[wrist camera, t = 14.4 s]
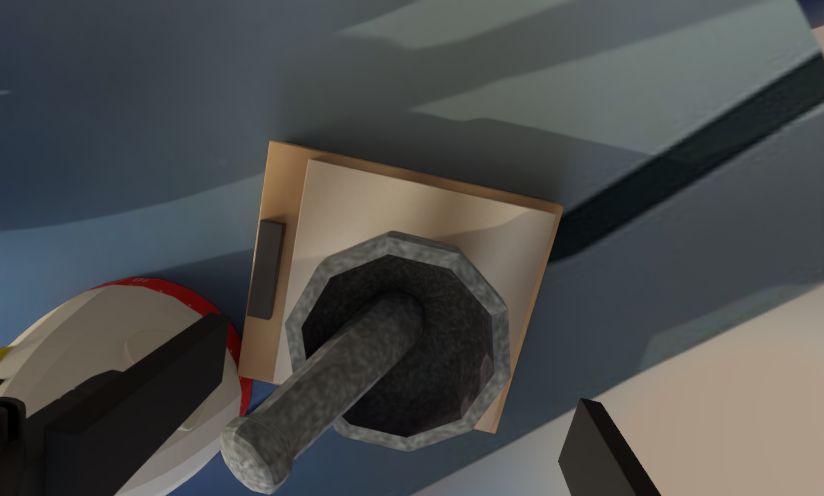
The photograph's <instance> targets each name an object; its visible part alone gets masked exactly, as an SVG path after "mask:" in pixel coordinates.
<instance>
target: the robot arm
mask: <svg viewBox="0 0 824 496" xmlns="http://www.w3.org/2000/svg"><path fill="white" fill-rule="evenodd" d="M229 323H230V316H226V315H222V314H217V313H213V312H209V313H208V314H206V315H205V316H203V317H202V318H200V319H199V320H198V321H196V322H195V323H193V324H192V325H190V326H189V327H187V328H186V329H185V330H183V331H182V332H180V333H179V334H177V335H176V336H174V337H173V338H171V339H170V340H169V341H167V342H166V343H164V344H163V345H161V346H160V347H158V348H157V349H155V350H154V351H153V352H151V353H150V354H148V355H147V356H145V357H144V358H142V359H141V360H140V361H138V362H137V363H135V364H134V365H132V366H131V367H129V368H128V369H126V370H125V371H124V372H122V371H118V370H113V369H111V370H109V371H106V372H103V373H100V374H98V375H95V376H92V377H90V378H89V379H87V380H85V381H84V382H82V383H81V384H79V385H78V386H76V387H75V388H74V390H72V389H71V390H70V391H68V392H67V393H65V394H64V395H62V396H61V398H60V399H58V398H57V399H56V400H54V401H53V402H51V403H49V404H48V405H46V406H45V407H43V408H42V409H40V410H39V411H37V412H35V413H34V414H32V415H31V416H29V417H28V418H26V406H25V403H24V402H23V401H21V400H19V399H17V398H12V397H6V396H2V397H0V496H114V495H115V494H116V493H117V492H118V491H119V490H120V489H121V488H122V487H123V486H124V485H125V484H126V483H127V482H128V480H129V479H130V478H131V477H132V476H133V475H134V474H135V473H136V472H137V471H138V470H139V469H140V468H141V467H142V466H143V465H144V464H145V463H146V462H147V461H148V459H149V458H150V457H151V456H152V455H153V454H154V453H155V452H156V451H157V450H158V449H159V448H160V447H161V446H162V445H163V444H164V443H165V442H166V441H167V440H168V439H169V437H170V436H171V435H172V434H173V433H174V432H175V431H176V430H177V429H178V428H179V427H180V426H181V425H182V424H183V423H184V422H185V421H186V420H187V419H188V418H189V416H190V415H191V414H192V413H193V412H194V411H195V410H196V409H197V408H198V407H199V406H200V405H201V404H202V403H203V402H204V401H205V400H206V399H207V398H208V397H209V395H210V394H211V393H212V392H213V391H214V390H215V389H216V388H217V387H218V386H219V385H220V384H221V383H222V379H223V371H224V363H225V355H226V347H227V339H228V331H229ZM558 462H559V465H560V468H561V470H562V473H563V475H564V478H565V481H566V483H567V486H568V488H569V491H570V494H571V496H661V495H660V493H659V491H658V490H657V488H656V487H655V485H654V484H653V482H652V481H651V479H650V478H649V476H648V474H647V473H646V471H645V470H644V468H643V467H642V465H641V464H640V462H639V461H638V459H637V458H636V456H635V454H634V453H633V451H632V450H631V448H630V447H629V445H628V444H627V442H626V441H625V439H624V437H623V436H622V434H621V433H620V431H619V430H618V428H617V427H616V425H615V424H614V422H613V420H612V419H611V417H610V416H609V414H608V413H607V411H606V410H605V408H604V407H603V405H602V404H601V403H600V402H596V401H592V400H588V399H583V398H580V400H579V403H578V406H577V409H576V411H575V414H574V417H573V420H572V423H571V426H570V429H569V431H568V434H567V437H566V440H565V443H564V446H563V448H562V451H561V454H560V457H559V460H558Z"/></svg>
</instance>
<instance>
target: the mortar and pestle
mask: <svg viewBox="0 0 824 496" xmlns="http://www.w3.org/2000/svg"><path fill="white" fill-rule="evenodd" d="M285 329H286V335H287V341H288V348H289V354H290V360H291V366H292V373H293V374H292V375H291V376H290V377H289V378H288V379H287V380H286V381H285V382H284V383H283V384H282V385H281V386H280V387H278V388H277V389H276V390H275V391H274V392H273V393H272V394H271V395H270V396H269V397H268V398H267V399H266V400H265V401H264V402H263V403H262V404H261V405H260V406H259V407H258V408H257V409H256V410H254V411H253V412H252V413H251V414H249V415H244V416H239V417H235V418H234V419H233V420H232V421H231V422H229V423H228V424H227V425H226V426H225V427H224V429H223V431H222V433H221V436H220V440H219V447H220V450H221V453H222V456H223V458H224V461H225V463H226V465H227V466H228V467H229V469H230V470H231V471H232V473H233V474H234V475H235V477H236V478H237V479H238V480H239V481H241V482H242V483H243V484H244V485H245V486H247V487H248V488H249V489H250V490H252V491H256V492H260V493H264V494H269V495H270V494H273V493H274V492H275V491H276V490H277V489H278V488H279V487H280V486H281V485H282V484H283V483H284V482H285V481H286V479H287V478H288V476H289V475H290V473H291V471H292V466H293V462H294V461H295V460H296V459H297V458H298V457H299V456H300V455H301V454H302V453H303V452H304V451H305V450H307V449H308V448H309V447H310V446H311V445H312V444H313V443H314V442H315V441H316V440H317V439H318V438H319V437H320V436H321V435H322V434H323V433H324V432H325V431H326V430H327V429H329V428H330V427H331V426H332V427H333V428H334V429H335V430H336V431H337V432H338V433H339V434H340V435H341V436H343V437H347V438H351V439H355V440H360V441H364V442H368V443H372V444H376V445H381V446H385V447H389V448H393V449H398V450H402V451H406V452H409V451H412V450H415V449H418V448H421V447H424V446H427V445H430V444H433V443H436V442H439V441H442V440H445V439H448V438H451V437H454V436H457V435H460V434H463V433H466V432H469V431H472V430H473V428H474V427H475V425H476V424H477V423H478V421H479V420H480V419H481V417H482V416H483V415H484V413H485V412H486V411H487V409H488V408H489V406H490V405H491V404H492V402H493V401H494V400H495V398H496V397H497V396H498V394H499V393H500V392H501V390H502V389H503V387H504V386H505V385H506V383H507V382H508V381H509V379H510V378H511V367H510V342H509V316H508V308H507V306H506V304H505V302H504V300H503V298H502V297H501V296H500V295H499V294H498V293H497V291H496V290H495V289H494V288H493V287H492V286H491V284H490V283H489V282H488V281H487V280H486V279H485V277H484V276H483V275H482V274H481V273H480V272H479V270H478V269H477V268H476V267H475V266H474V265H473V263H472V262H471V261H470V260H469V259H468V258H467V256H466V255H465V254H464V253H463V252H462V251H461V249H460V248H459V247H457V246H455V245H453V244H449V243H445V242H440V241H436V240H432V239H428V238H424V237H420V236H415V235H411V234H407V233H403V232H399V231H394V230H392V231H388V232H386V233H384V234H381V235H379V236H376V237H374V238H371V239H369V240H366V241H364V242H362V243H359V244H357V245H354V246H352V247H349V248H347V249H345V250H342V251H340V252H337V253H335V254H332V255H330V256H328V257H326V258H325V259H324V260H323V261H322V262H321V263H320V264H318V266H317V268H316V270H315V271H314V273H313V275H312V277H311V278H310V280H309V282H308V284H307V285H306V287H305V289H304V291H303V292H302V294H301V296H300V298H299V299H298V301H297V303H296V305H295V306H294V308H293V310H292V312H291V314H290V315H289V317H288V319H287V321H286V322H285Z"/></svg>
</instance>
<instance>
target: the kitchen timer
mask: <svg viewBox="0 0 824 496" xmlns="http://www.w3.org/2000/svg"><path fill="white" fill-rule="evenodd" d="M209 312H213V313H217V314H222V313H221V312H220V311H219V310H218V309H217V308H216V307H215V306H214V305H213V304H211V303H210V302H208V301H207V300H205V299H204V298H202V297H201V296H199V295H198V294H196V293H195V292H193V291H192V290H190V289H188V288H185V287H182V286H180V285H177V284H174V283H171V282H168V281H165V280H162V279H152V278H136V277H131V278H126V279H122V280H118V281H114V282H109V283H105V284H102V285H100V286H97V287H95V288H92V289H90V290H87V291H85V292H83V293H81V294H79V295H77V296H75V297H74V298H72V299H70V300H69V301H67V302H66V303H64V304H62V305H61V306H59V307H57V308H56V309H54V310H53V311H51V312H49V313H48V314H46V315H45V316H43V317H42V318H41V319H39V320H38V321H37V322H35V323H34V324H33V325H32V326H31V327H29V328H28V329H27V330H26V331H25V332H24V333H22V334H21V335H20V336H19V337H18V338H17V339H16V340H14V341H13V342H12V343H11V344H10V345H9V346H8V347H2V348H0V397H2V396H6V397H12V398H17V399H19V400H21V401H23V402H24V403H25V406H26V418H28V417H29V416H31V415H32V414H34V413H35V412H37V411H39V410H40V409H42V408H43V407H45V406H46V405H48V404H49V403H51V402H53V401H54V400H56V399H57V398H58V399H60V398H61V396H62V395H64V394H65V393H67V392H68V391H70V390H71V389H72V390H74V388H75V387H76V386H78V385H79V384H81V383H82V382H84V381H85V380H87V379H89V378H90V377H92V376H95V375H98V374H100V373H103V372H106V371H109V370H111V369H113V370H118V371H122V372H124V371H125V370H126V369H128V368H129V367H131V366H132V365H134V364H135V363H137V362H138V361H140V360H141V359H142V358H144V357H145V356H147V355H148V354H150V353H151V352H153V351H154V350H155V349H157V348H158V347H160V346H161V345H163V344H164V343H166V342H167V341H169V340H170V339H171V338H173V337H174V336H176V335H177V334H179V333H180V332H182V331H183V330H185V329H186V328H187V327H189V326H190V325H192V324H193V323H195V322H196V321H198V320H199V319H200V318H202V317H203V316H205V315H206V314H208V313H209ZM222 315H223V314H222ZM241 345H242V341H241V339H240V337H239V335H238V333H237V331H236V329H235V328H234V327H233V325H232V324H231V323H229V331H228V339H227V347H226V355H225V363H224V371H223V379H222V383H221V384H220V385H219V386H218V387H217V388H216V389H215V390H214V391H213V392H212V393H211V394H210V395H209V397H208V398H207V399H206V400H205V401H204V402H203V403H202V404H201V405H200V406H199V407H198V408H197V409H196V410H195V411H194V412H193V413H192V414H191V415H190V416H189V418H188V419H187V420H186V421H185V422H184V423H183V424H182V425H181V426H180V427H179V428H178V429H177V430H176V431H175V432H174V433H173V434H172V435H171V436H170V437H169V439H168V440H167V441H166V442H165V443H164V444H163V445H162V446H161V447H160V448H159V449H158V450H157V451H156V452H155V453H154V454H153V455H152V456H151V457H150V458H149V459H148V461H147V462H146V463H145V464H144V465H143V466H142V467H141V468H140V469H139V470H138V471H137V472H136V473H135V474H134V475H133V476H132V477H131V478H130V479H129V480H128V482H127V483H126V484H125V485H124V486H123V487H122V488H121V489H120V490H119V491H118V492H117V493H116V494H115V495H114V496H165V495H167V494H168V493H170V492H171V491H173V490H174V489H176V488H177V487H178V486H180V485H181V484H183V483H184V482H185V481H187V480H188V479H190V478H191V477H192V476H193V475H195V474H196V473H197V472H198V471H199V470H200V469H202V468H203V467H204V466H205V465H206V464H207V463H208V462H209V461H210V460H211V459H212V458H213V457H214V456H215V455H216V454H217V453H218V452H219V451H220V447H219V440H220V436H221V433H222V431H223V429H224V427H225V426H226V425H227V424H228V423H229V422H231V421H232V420H233V419H234V418H235V417H239V416H244V415H245V413H246V411H247V409H248V407H249V405H250V397H251V389H252V380H253V379H251V378H247V377H242V376H238V367H239V360H240V353H241Z"/></svg>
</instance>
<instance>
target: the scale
mask: <svg viewBox="0 0 824 496" xmlns="http://www.w3.org/2000/svg"><path fill="white" fill-rule="evenodd" d="M563 209H564V206H562V205H560V204H557V203H555V202H551V201H546V200H542V199H537V198H533V197H529V196H524V195H520V194H515V193H511V192H506V191H502V190H497V189H493V188H489V187H484V186H480V185H475V184H471V183H466V182H462V181H457V180H453V179H449V178H444V177H440V176H435V175H431V174H426V173H422V172H417V171H413V170H408V169H404V168H400V167H395V166H391V165H386V164H382V163H377V162H373V161H368V160H364V159H360V158H355V157H351V156H346V155H342V154H337V153H333V152H328V151H324V150H320V149H315V148H311V147H306V146H302V145H297V144H293V143H288V142H284V141H276V140H270V143H269V150H268V157H267V164H266V172H265V179H264V186H263V193H262V201H261V208H260V215H259V222H258V230H257V237H256V244H255V251H254V259H253V266H252V273H251V280H250V288H249V295H248V302H247V309H246V316H245V324H244V331H243V338H242V345H241V353H240V360H239V367H238V376H242V377H247V378H251V379H256V380H260V381H264V382H269V383H273V384H278V385H282V384H283V383H284V382H285V381H286V380H287V379H288V378H289V377H290V376H291V375H292V374H293V373H292V366H291V360H290V354H289V348H288V341H287V335H286V329H285V322H286V321H287V319H288V317H289V315H290V314H291V312H292V310H293V308H294V306H295V305H296V303H297V301H298V299H299V298H300V296H301V294H302V292H303V291H304V289H305V287H306V285H307V284H308V282H309V280H310V278H311V277H312V275H313V273H314V271H315V270H316V268H317V266H318V264H320V263H321V262H322V261H323V260H324V259H325V258H326V257H328V256H330V255H332V254H335V253H337V252H340V251H342V250H345V249H347V248H349V247H352V246H354V245H357V244H359V243H362V242H364V241H366V240H369V239H371V238H374V237H376V236H379V235H381V234H384V233H386V232H388V231H392V230H394V231H399V232H403V233H407V234H411V235H415V236H420V237H424V238H428V239H432V240H436V241H440V242H445V243H449V244H453V245H455V246H457V247H459V248H460V249H461V251H462V252H463V253H464V254H465V255H466V256H467V258H468V259H469V260H470V261H471V262H472V263H473V265H474V266H475V267H476V268H477V269H478V270H479V272H480V273H481V274H482V275H483V276H484V277H485V279H486V280H487V281H488V282H489V283H490V284H491V286H492V287H493V288H494V289H495V290H496V291H497V293H498V294H499V295H500V296H501V297H502V298H503V300H504V302H505V304H506V306H507V308H508V316H509V342H510V367H511V378H510V379H509V381H508V382H507V383H506V385H505V386H504V387H503V389H502V390H501V392H500V393H499V394H498V396H497V397H496V398H495V400H494V401H493V402H492V404H491V405H490V406H489V408H488V409H487V411H486V412H485V413H484V415H483V416H482V417H481V419H480V420H479V421H478V423H477V424H476V425H475V427H474V428H473V429H477V430H481V431H486V432H490V433H494V434H495V433H496V430H497V427H498V424H499V420H500V417H501V414H502V410H503V407H504V404H505V401H506V397H507V394H508V391H509V387H510V384H511V381H512V377H513V374H514V371H515V367H516V364H517V361H518V357H519V354H520V351H521V348H522V344H523V341H524V338H525V334H526V331H527V328H528V324H529V321H530V318H531V314H532V311H533V308H534V305H535V301H536V298H537V295H538V291H539V288H540V285H541V281H542V278H543V275H544V271H545V268H546V265H547V261H548V258H549V255H550V252H551V248H552V245H553V242H554V238H555V235H556V232H557V228H558V225H559V222H560V218H561V215H562V212H563Z"/></svg>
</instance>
